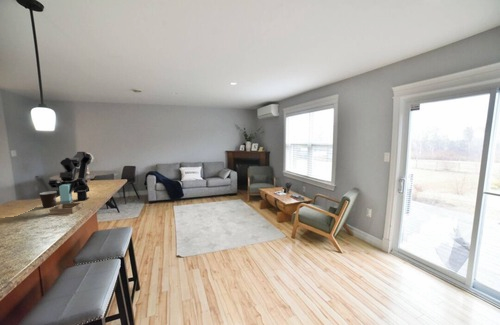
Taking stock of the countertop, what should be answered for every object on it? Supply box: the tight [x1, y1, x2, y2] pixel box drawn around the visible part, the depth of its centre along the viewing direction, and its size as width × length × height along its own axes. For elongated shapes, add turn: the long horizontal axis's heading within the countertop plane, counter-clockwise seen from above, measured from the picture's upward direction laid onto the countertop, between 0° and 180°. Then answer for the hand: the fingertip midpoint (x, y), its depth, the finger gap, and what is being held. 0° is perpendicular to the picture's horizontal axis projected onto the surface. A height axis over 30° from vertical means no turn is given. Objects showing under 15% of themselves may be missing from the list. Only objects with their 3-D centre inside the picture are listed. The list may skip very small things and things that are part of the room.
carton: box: [47, 202, 85, 217], centre depth 136 cm, size 18×12×4 cm
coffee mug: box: [39, 190, 58, 209], centre depth 146 cm, size 12×9×10 cm
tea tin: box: [58, 184, 74, 205], centre depth 135 cm, size 5×5×12 cm
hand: (64, 193), depth 134 cm, fingers closed on tea tin, 4 cm apart
